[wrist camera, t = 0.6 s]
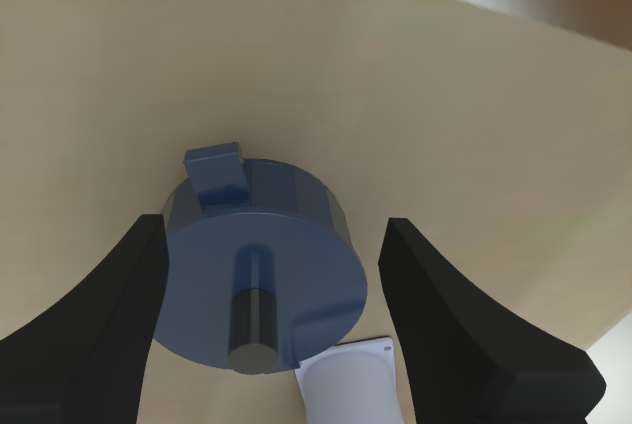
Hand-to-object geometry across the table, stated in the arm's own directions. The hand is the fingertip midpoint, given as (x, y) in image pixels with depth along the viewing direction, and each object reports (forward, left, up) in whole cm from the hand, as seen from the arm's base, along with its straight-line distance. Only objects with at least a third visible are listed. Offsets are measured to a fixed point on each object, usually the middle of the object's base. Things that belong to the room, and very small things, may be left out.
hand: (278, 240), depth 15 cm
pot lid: (-8, +3, -5) cm, 10 cm away
